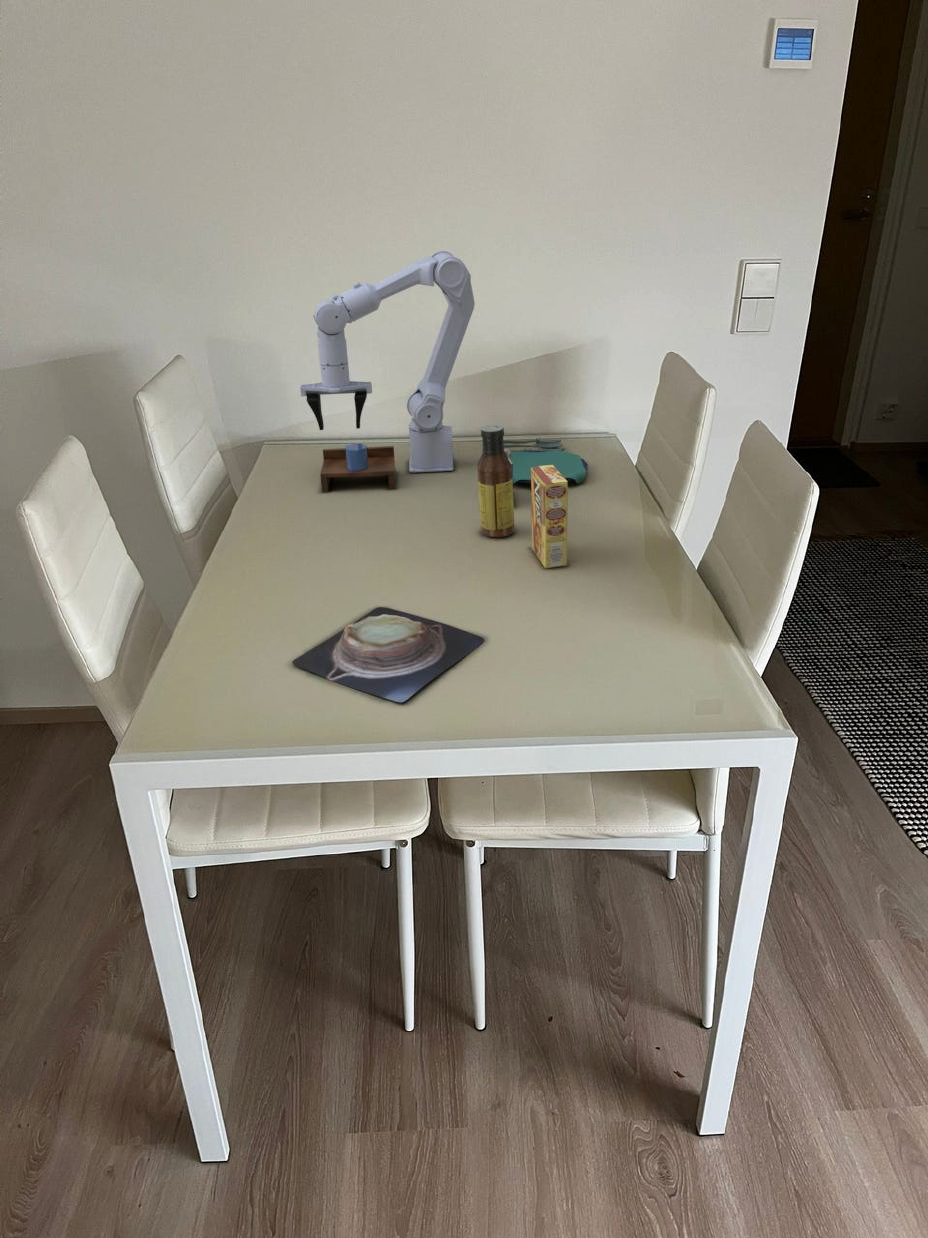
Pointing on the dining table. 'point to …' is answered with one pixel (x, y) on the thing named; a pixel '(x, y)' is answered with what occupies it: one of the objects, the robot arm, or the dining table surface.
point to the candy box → (549, 515)
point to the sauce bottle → (495, 485)
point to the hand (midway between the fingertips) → (340, 427)
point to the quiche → (389, 653)
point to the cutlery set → (545, 460)
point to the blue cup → (356, 457)
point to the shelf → (378, 464)
